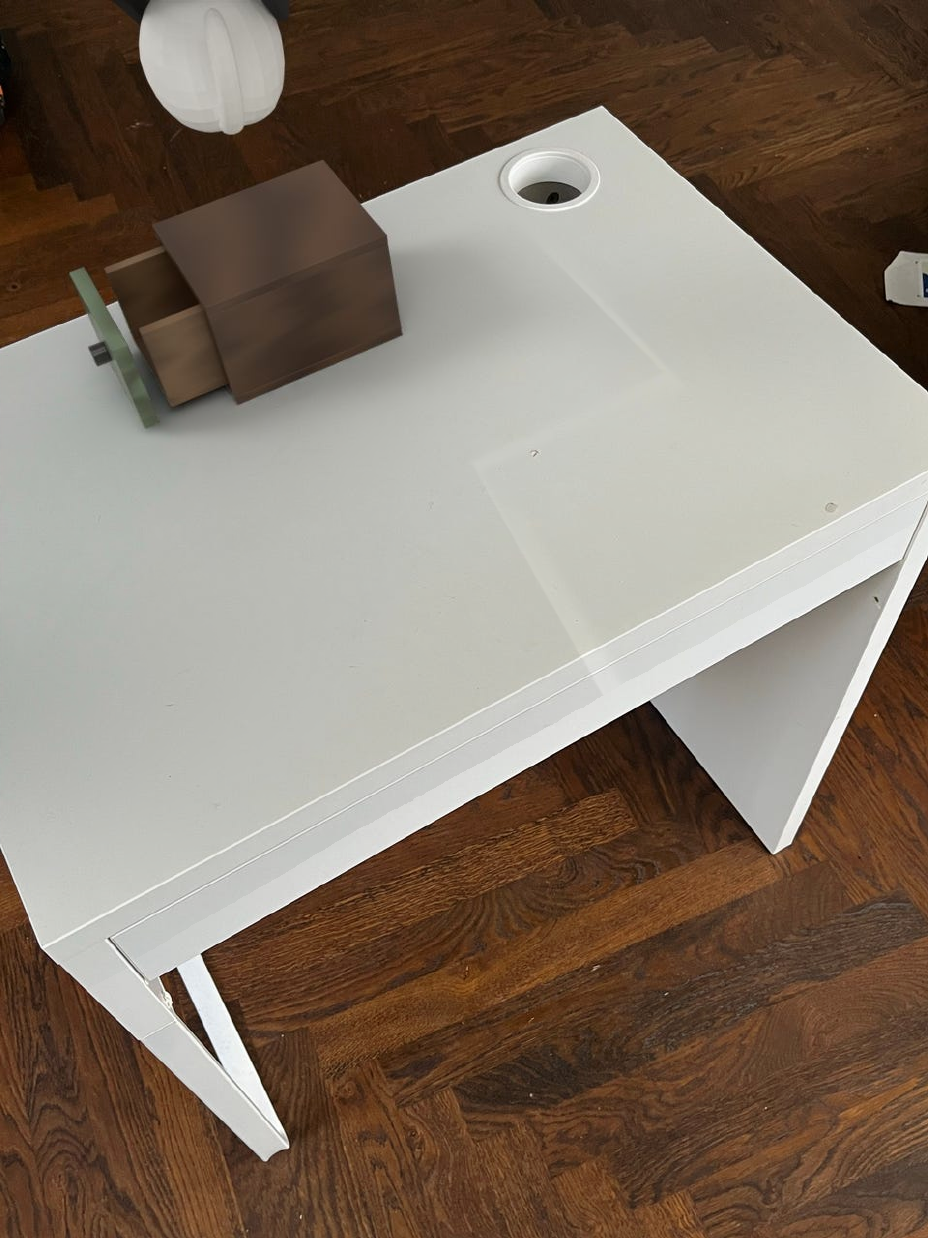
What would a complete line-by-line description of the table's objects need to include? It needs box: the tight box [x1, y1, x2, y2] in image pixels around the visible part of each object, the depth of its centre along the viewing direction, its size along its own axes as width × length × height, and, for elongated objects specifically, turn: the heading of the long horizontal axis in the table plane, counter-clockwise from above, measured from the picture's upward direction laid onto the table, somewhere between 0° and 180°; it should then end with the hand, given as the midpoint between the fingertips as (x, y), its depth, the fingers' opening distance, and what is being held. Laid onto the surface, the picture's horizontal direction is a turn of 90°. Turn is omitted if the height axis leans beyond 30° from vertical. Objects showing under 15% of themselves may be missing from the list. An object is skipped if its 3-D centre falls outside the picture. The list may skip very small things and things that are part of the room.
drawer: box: [69, 246, 228, 429], centre depth 89 cm, size 15×10×8 cm
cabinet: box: [151, 159, 403, 406], centre depth 91 cm, size 15×12×10 cm
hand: (214, 0), depth 73 cm, fingers closed on cat figurine, 8 cm apart
